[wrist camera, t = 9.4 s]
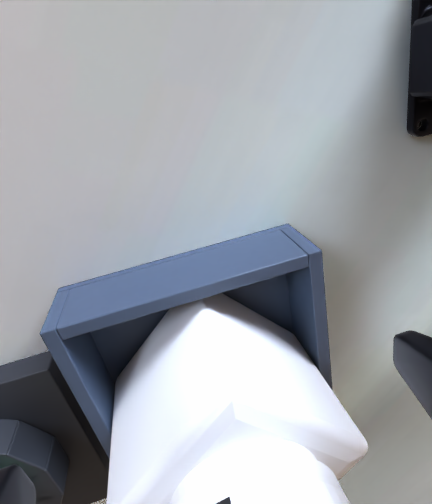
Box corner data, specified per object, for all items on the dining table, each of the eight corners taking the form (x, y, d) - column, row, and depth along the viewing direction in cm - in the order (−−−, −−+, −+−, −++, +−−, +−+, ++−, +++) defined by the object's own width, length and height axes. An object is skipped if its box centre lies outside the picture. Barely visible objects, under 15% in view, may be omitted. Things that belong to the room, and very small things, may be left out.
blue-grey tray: (288, 223, 17) (322, 250, 13) (309, 395, 22) (336, 443, 19) (58, 288, 15) (38, 334, 12) (139, 453, 21) (139, 514, 18)
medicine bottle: (219, 419, 20) (311, 770, 10) (113, 379, 18) (76, 816, 7) (295, 332, 19) (503, 634, 8) (192, 274, 16) (306, 618, 5)
